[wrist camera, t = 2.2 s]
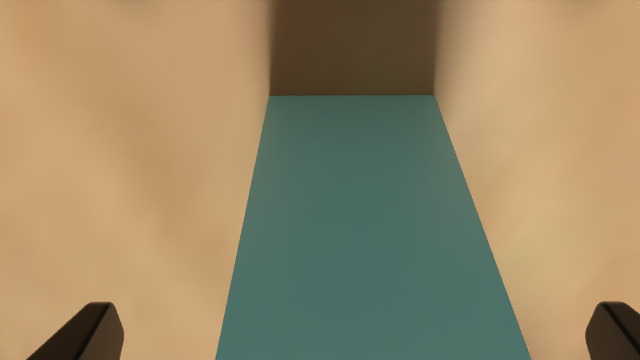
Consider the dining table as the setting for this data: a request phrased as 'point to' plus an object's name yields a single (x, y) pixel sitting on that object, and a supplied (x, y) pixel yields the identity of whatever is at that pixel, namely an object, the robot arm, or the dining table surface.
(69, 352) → the robot arm
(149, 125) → the dining table surface
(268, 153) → the plug
